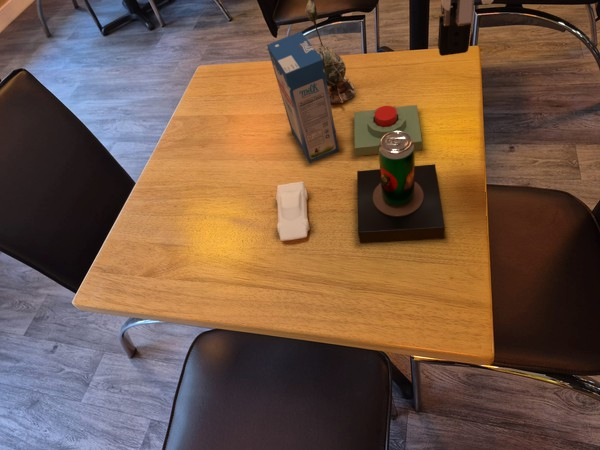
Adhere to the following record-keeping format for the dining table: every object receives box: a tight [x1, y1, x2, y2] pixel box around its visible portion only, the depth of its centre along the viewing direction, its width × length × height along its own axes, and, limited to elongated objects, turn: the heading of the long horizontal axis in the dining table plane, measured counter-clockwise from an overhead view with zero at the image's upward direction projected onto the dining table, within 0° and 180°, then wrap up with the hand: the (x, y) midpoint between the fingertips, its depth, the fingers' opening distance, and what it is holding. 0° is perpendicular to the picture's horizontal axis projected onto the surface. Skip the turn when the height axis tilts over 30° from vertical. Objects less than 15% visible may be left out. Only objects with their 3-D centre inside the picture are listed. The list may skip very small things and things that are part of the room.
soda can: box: [378, 131, 416, 206], centre depth 66 cm, size 5×5×12 cm
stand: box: [356, 163, 446, 244], centre depth 72 cm, size 13×13×3 cm
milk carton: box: [266, 31, 340, 164], centre depth 79 cm, size 10×6×20 cm, turn 20°
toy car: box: [275, 181, 310, 242], centre depth 75 cm, size 6×12×3 cm, turn 2°
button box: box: [353, 104, 423, 157], centre depth 82 cm, size 12×10×4 cm
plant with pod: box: [305, 0, 356, 105], centre depth 86 cm, size 8×11×20 cm
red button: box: [375, 105, 397, 127], centre depth 80 cm, size 4×4×2 cm
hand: (452, 50), depth 52 cm, fingers closed
